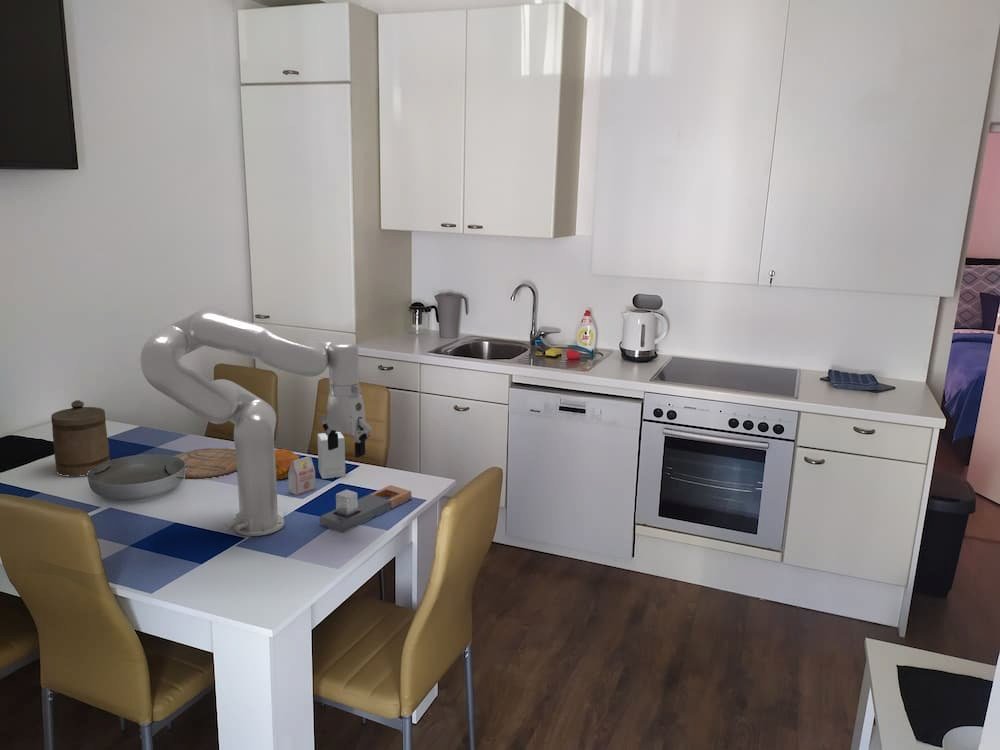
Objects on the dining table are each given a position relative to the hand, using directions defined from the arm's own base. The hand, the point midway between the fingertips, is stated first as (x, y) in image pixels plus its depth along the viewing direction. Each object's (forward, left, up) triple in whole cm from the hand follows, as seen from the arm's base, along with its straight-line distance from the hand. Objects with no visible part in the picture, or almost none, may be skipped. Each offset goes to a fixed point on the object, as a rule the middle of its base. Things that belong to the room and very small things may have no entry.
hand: (346, 452), depth 203 cm
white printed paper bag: (+8, +26, -20) cm, 34 cm away
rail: (+8, 0, -20) cm, 21 cm away
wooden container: (-20, +93, -20) cm, 97 cm away
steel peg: (0, 0, -20) cm, 20 cm away
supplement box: (+23, +29, -20) cm, 42 cm away
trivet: (+5, +66, -20) cm, 69 cm away
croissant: (+14, +43, -20) cm, 50 cm away
